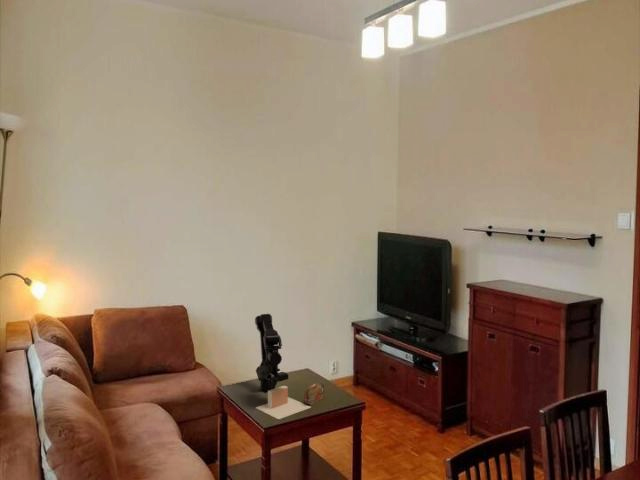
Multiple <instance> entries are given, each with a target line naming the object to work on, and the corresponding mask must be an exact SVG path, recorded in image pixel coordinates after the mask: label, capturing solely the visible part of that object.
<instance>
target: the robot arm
mask: <svg viewBox="0 0 640 480" xmlns="http://www.w3.org/2000/svg"><path fill="white" fill-rule="evenodd" d="M254 318H255V319H254V324H255V327H256V330H257V331H258V332H259V337H260V350H261V351H260V352H261V355H260V356H261V362H260V364H259V366H257V367H256V369H255V373H256V375H257V379H258V382H260V383H259V384H260V385H259V386H260V388H258V389H257V390H258V391H259V392H262V393H264V394H268V391H269V390H272V389H275V388H276V386H277V385H278V383H279V382H283V381H286V380H289V374H288V373H287V372H285V371H281V370H280V369H281V368H279V365H280V364H281V363H282V359H283V357H282V355H281V354H280V352H279V350H282V346H283V342H282V338H281V336H280V335H279V333H278V331H277V330H275V329H274V326H273V315H271V314H270V313H262V314H260V315H256V316H255V317H254ZM280 371H281V372H280Z"/></svg>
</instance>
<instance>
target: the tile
mask: <svg viewBox="0 0 640 480" xmlns="http://www.w3.org/2000/svg"><path fill="white" fill-rule="evenodd" d="M288 397H289V388H288V386H286V385H282V386H281V385H280V386H279V387H275V388H274V389H272V390H269V391H268V392H267V404H268V407H269V408H271V409H272V408H275V407H278V406H281V405H284V404H286V403H288Z"/></svg>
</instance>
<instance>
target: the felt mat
mask: <svg viewBox="0 0 640 480" xmlns="http://www.w3.org/2000/svg"><path fill="white" fill-rule="evenodd" d="M311 408H312V406H310V405H309V404H306V403H303V402H301V401H298V400H296V399H294V398H292V397H289V396H288V403H286V404H284V405H281V406H278V407H275V408H272V409H271V408H269V407H268V403H265V404H261V405H259V406H256V407H255V409H256V410H259V411H261V412H263V413H265V414H267V415H269V416H271V417H273V418H275V419H277V420H281V419H283V418H286V417H289V416H293V415H294V414H297V413H299V412H300V413H301V412H303V411H306V410H308V409H311Z"/></svg>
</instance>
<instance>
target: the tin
mask: <svg viewBox="0 0 640 480" xmlns="http://www.w3.org/2000/svg"><path fill="white" fill-rule="evenodd" d="M324 394H325V386H324V384H323V382H315V383H313V384H312V385H310V386H309V387H307V388H306V390H305V391H304V402H305V405H309V406H310V405H311V406H312V405H313V404H314V403H316V402H319V400H322V399H323V397H324Z"/></svg>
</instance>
